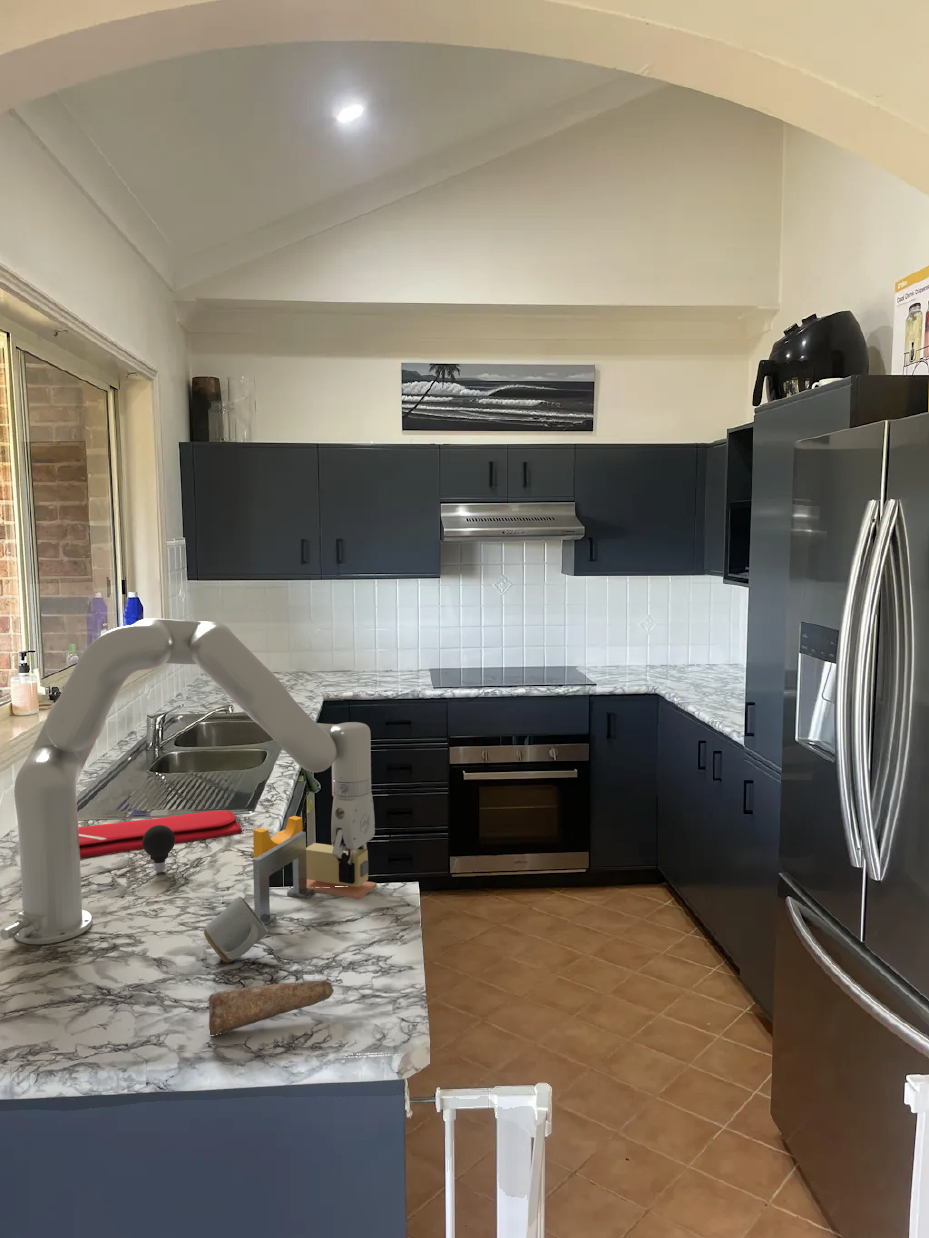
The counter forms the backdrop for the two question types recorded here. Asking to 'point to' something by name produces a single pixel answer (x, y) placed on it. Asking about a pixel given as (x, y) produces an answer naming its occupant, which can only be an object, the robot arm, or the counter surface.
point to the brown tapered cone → (262, 1003)
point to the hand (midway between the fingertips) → (352, 877)
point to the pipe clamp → (266, 843)
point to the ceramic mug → (235, 930)
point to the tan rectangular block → (334, 864)
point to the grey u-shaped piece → (273, 862)
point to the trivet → (341, 888)
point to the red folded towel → (132, 832)
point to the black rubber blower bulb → (158, 845)
